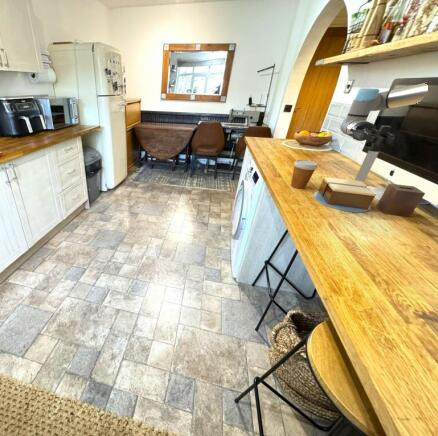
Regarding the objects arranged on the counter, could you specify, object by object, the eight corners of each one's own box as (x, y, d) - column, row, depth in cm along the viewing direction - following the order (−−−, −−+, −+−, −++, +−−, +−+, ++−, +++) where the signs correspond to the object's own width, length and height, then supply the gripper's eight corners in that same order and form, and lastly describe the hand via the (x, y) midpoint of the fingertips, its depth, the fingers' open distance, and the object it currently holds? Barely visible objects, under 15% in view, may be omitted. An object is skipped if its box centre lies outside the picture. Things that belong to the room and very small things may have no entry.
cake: (358, 195, 108) (367, 179, 104) (379, 216, 92) (389, 198, 88) (308, 189, 114) (314, 174, 110) (319, 207, 97) (327, 190, 93)
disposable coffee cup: (310, 191, 111) (320, 166, 105) (287, 188, 114) (296, 163, 108) (307, 184, 119) (316, 160, 113) (286, 181, 122) (293, 158, 116)
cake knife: (362, 180, 97) (390, 126, 86) (364, 182, 96) (393, 126, 85) (353, 179, 98) (379, 125, 87) (355, 180, 97) (382, 126, 86)
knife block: (400, 209, 97) (414, 186, 92) (409, 217, 91) (425, 193, 86) (376, 205, 99) (388, 183, 94) (384, 213, 94) (398, 190, 89)
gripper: (378, 140, 103) (408, 155, 84) (336, 137, 107) (356, 150, 88) (387, 122, 99) (421, 133, 80) (343, 119, 103) (366, 129, 84)
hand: (387, 142), depth 84 cm, fingers closed on cake knife, 2 cm apart
